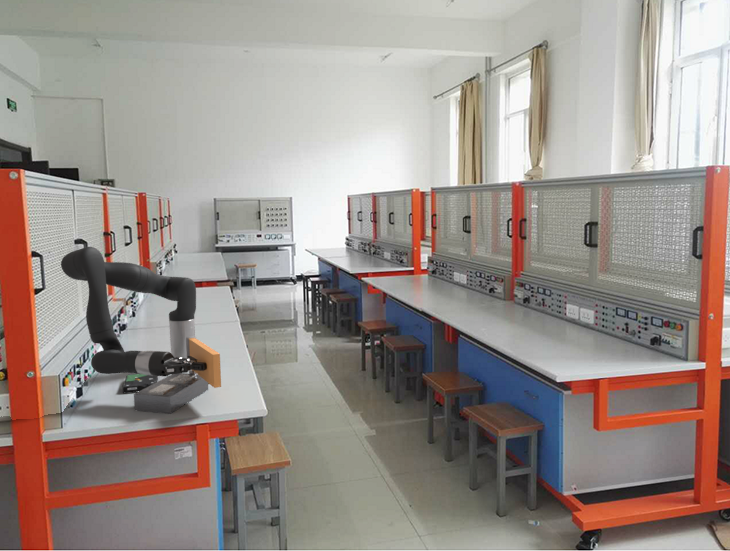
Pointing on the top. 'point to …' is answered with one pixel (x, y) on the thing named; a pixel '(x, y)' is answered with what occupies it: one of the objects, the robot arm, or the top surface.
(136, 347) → the top surface
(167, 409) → the grey flat block
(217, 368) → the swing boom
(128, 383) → the disk drive
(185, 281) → the robot arm
